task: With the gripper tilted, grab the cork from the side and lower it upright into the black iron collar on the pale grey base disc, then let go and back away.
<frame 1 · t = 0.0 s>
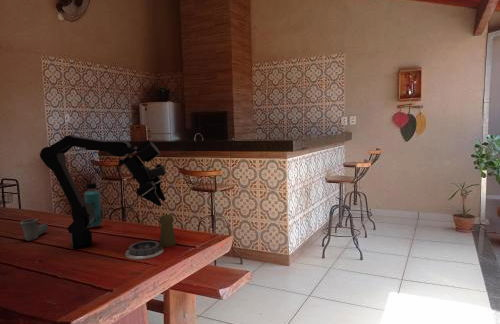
hand: (162, 202, 143), 15 cm above the table, tool tilted 35°, fingers open, 9 cm apart
iron collar: (144, 252, 132), on the table
pipe: (34, 238, 155), on the table
cork: (167, 244, 141), on the table
beverage bottle: (94, 228, 166), on the table
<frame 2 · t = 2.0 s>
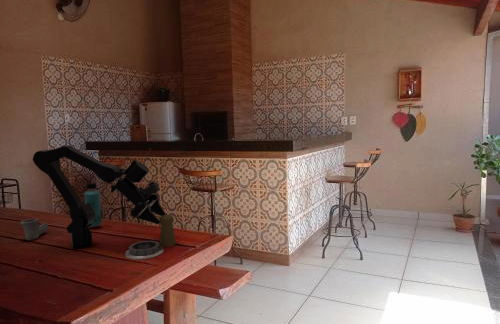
hand: (162, 219, 140), 9 cm above the table, tool tilted 45°, fingers open, 9 cm apart
nothing on the table moved.
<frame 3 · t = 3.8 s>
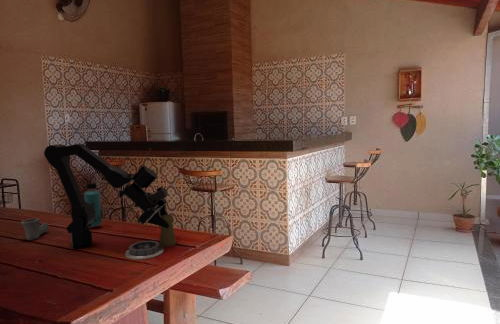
hand: (170, 225, 140), 7 cm above the table, tool tilted 45°, fingers closed on cork, 5 cm apart
cork: (168, 244, 141), on the table, touching gripper
everything else where it was.
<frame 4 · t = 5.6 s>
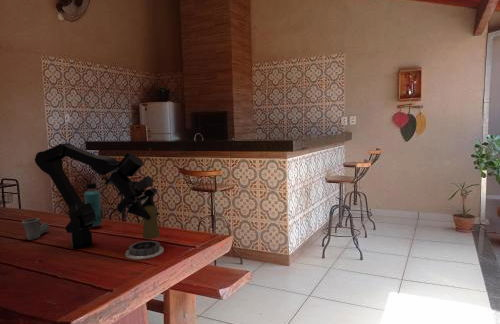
hand: (153, 217, 133), 12 cm above the table, tool tilted 45°, fingers closed on cork, 5 cm apart
cork: (151, 236, 134), point 5 cm above the table, touching gripper
everything else where it was.
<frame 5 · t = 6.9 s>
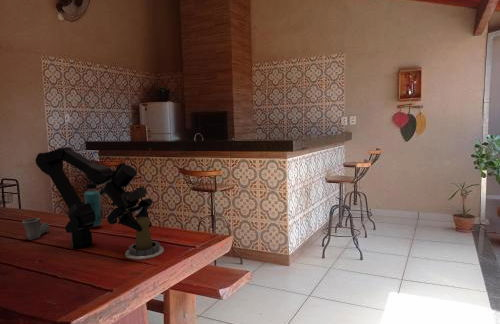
hand: (146, 228, 131), 9 cm above the table, tool tilted 45°, fingers closed on cork, 5 cm apart
cork: (144, 248, 132), point 2 cm above the table, touching gripper
when the fingers open (9 cm above the table, at t = 7.6 s): cork stays where it is, resting on iron collar.
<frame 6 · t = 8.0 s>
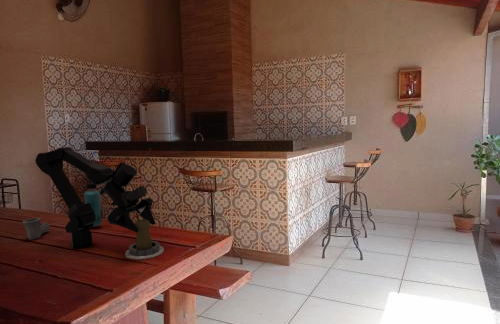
hand: (146, 227, 131), 9 cm above the table, tool tilted 45°, fingers open, 9 cm apart
cork: (144, 251, 132), resting on iron collar
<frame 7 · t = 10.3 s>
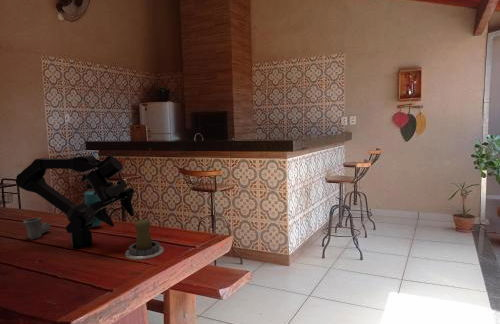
hand: (123, 221, 137), 10 cm above the table, tool tilted 35°, fingers open, 9 cm apart
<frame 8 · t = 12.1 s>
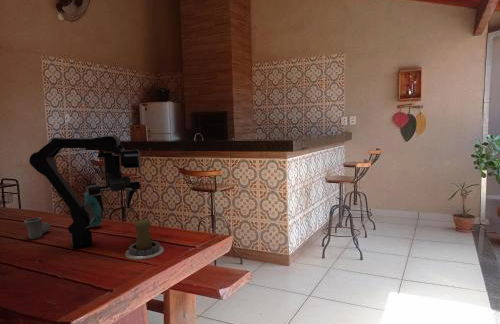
hand: (115, 209, 142), 13 cm above the table, tool pointing down, fingers open, 9 cm apart
at the end: cork 0.1 cm off-centre on the iron collar, point 0.4 cm above the iron collar's base; cork tilted 0°; the gripper is holding nothing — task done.
